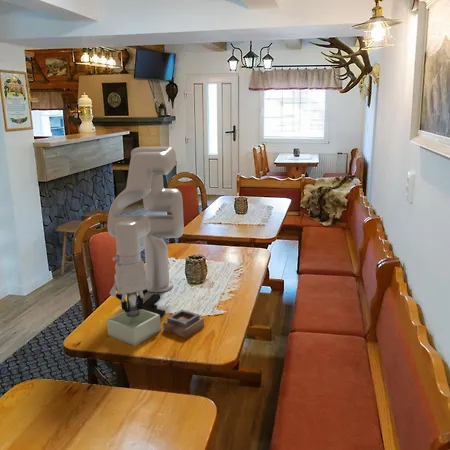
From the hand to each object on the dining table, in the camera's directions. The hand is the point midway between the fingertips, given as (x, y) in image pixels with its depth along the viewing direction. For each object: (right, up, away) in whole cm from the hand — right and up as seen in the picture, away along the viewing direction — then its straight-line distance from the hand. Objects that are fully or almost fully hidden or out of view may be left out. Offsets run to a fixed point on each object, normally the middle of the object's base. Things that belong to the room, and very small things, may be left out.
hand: (132, 309), depth 158 cm
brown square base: (+17, -8, +6) cm, 19 cm away
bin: (0, -9, +3) cm, 9 cm away
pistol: (+4, -4, +22) cm, 22 cm away
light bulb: (0, -2, 0) cm, 2 cm away
